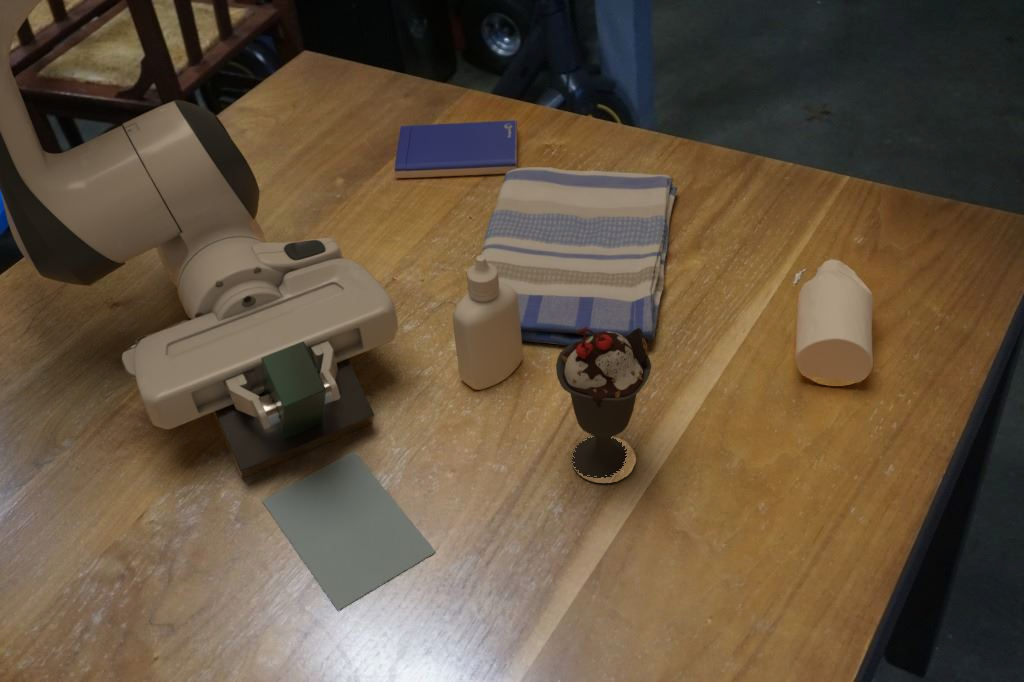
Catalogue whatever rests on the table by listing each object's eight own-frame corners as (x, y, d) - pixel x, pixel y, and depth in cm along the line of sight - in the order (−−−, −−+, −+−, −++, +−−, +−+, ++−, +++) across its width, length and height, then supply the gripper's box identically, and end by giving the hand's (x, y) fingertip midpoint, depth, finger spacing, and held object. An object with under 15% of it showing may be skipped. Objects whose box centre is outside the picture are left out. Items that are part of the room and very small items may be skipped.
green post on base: (241, 478, 85) (234, 442, 75) (212, 409, 86) (201, 365, 76) (372, 423, 88) (383, 381, 78) (342, 358, 89) (348, 308, 79)
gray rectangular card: (261, 501, 83) (261, 500, 83) (354, 451, 86) (354, 451, 86) (337, 611, 76) (337, 610, 76) (435, 552, 79) (435, 551, 79)
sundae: (550, 486, 82) (543, 341, 72) (571, 421, 87) (566, 276, 77) (637, 502, 81) (642, 355, 71) (654, 435, 86) (660, 288, 75)
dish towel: (677, 191, 108) (679, 167, 106) (657, 357, 92) (658, 333, 90) (505, 181, 111) (503, 158, 109) (455, 340, 95) (452, 316, 93)
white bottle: (866, 293, 96) (877, 243, 92) (867, 391, 88) (879, 340, 84) (795, 287, 97) (803, 236, 93) (790, 383, 89) (798, 332, 85)
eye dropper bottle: (453, 359, 93) (439, 248, 85) (518, 345, 94) (509, 234, 86) (464, 395, 90) (450, 283, 82) (531, 380, 91) (523, 268, 82)
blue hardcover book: (516, 118, 117) (400, 123, 118) (516, 161, 111) (394, 167, 112) (517, 130, 118) (402, 136, 119) (517, 174, 112) (396, 180, 113)
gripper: (103, 318, 84) (150, 434, 75) (350, 230, 90) (421, 327, 81) (128, 376, 88) (174, 492, 79) (362, 288, 95) (430, 386, 86)
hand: (301, 408), depth 80 cm, fingers closed on green post on base, 3 cm apart
